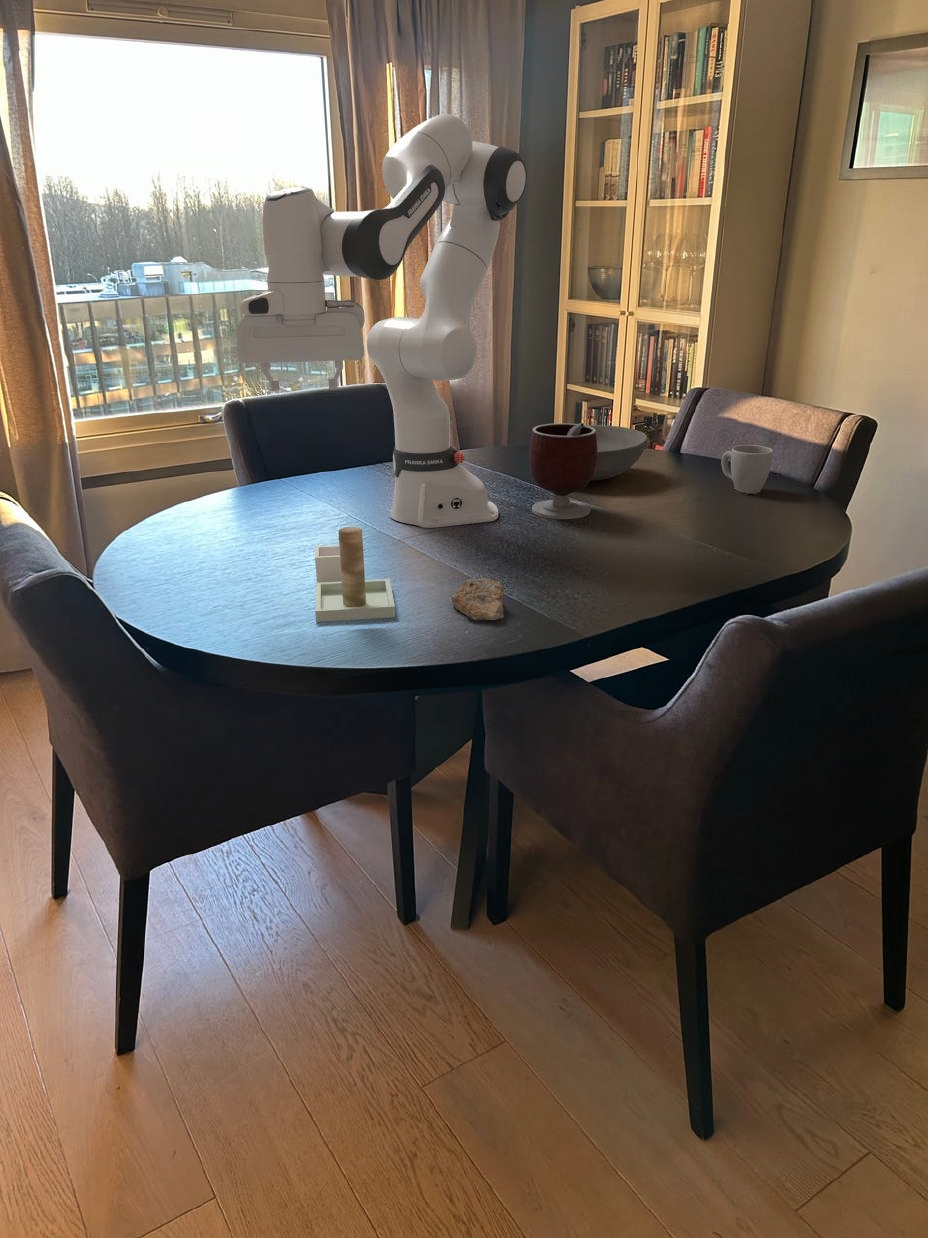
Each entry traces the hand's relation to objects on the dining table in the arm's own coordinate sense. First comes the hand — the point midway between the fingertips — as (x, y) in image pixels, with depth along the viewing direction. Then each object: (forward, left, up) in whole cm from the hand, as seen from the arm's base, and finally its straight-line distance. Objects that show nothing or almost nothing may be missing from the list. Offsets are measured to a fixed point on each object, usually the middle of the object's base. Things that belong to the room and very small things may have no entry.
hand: (304, 389), depth 150 cm
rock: (-25, +24, -31) cm, 47 cm away
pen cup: (-3, +8, -31) cm, 32 cm away
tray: (-6, +20, -31) cm, 37 cm away
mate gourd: (-51, -26, -31) cm, 65 cm away
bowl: (-64, -53, -31) cm, 89 cm away
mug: (-95, -36, -31) cm, 106 cm away
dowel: (-6, +20, -30) cm, 36 cm away
